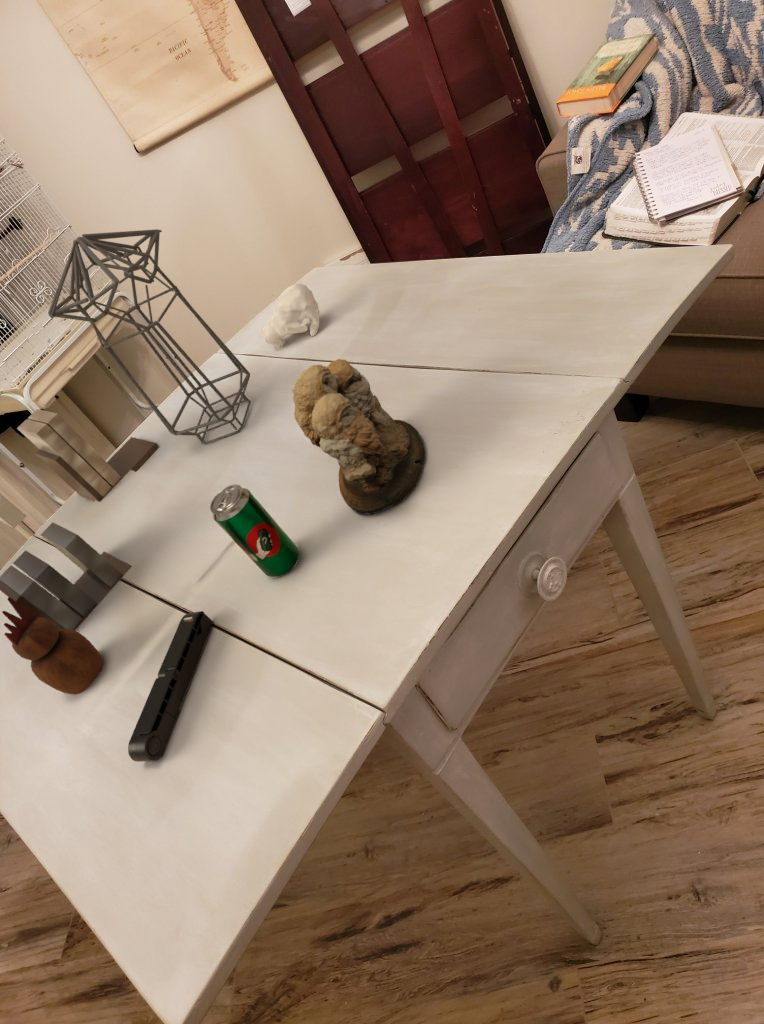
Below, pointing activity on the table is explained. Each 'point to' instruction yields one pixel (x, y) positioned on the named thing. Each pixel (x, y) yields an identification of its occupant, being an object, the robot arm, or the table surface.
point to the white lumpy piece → (292, 314)
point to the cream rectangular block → (10, 513)
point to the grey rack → (63, 580)
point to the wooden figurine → (53, 651)
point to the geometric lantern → (80, 274)
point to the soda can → (254, 530)
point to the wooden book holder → (82, 455)
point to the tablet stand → (169, 688)
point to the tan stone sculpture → (358, 436)
